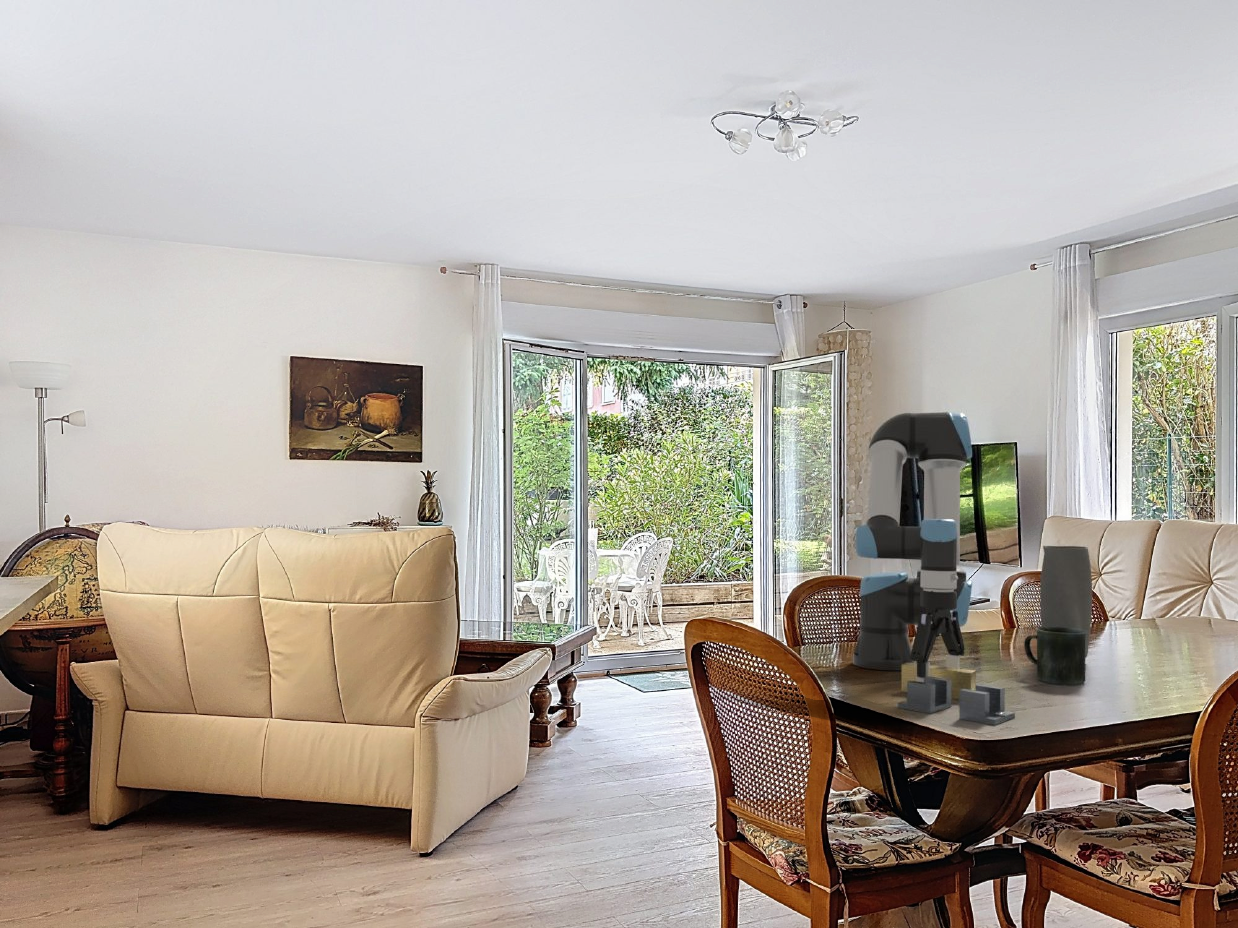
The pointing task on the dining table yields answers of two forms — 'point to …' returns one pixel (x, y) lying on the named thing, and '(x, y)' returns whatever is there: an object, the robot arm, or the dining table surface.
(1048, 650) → the mug
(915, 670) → the wooden beam block
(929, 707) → the grey slotted bracket
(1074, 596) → the vase
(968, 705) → the grey beam support bracket
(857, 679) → the dining table surface
